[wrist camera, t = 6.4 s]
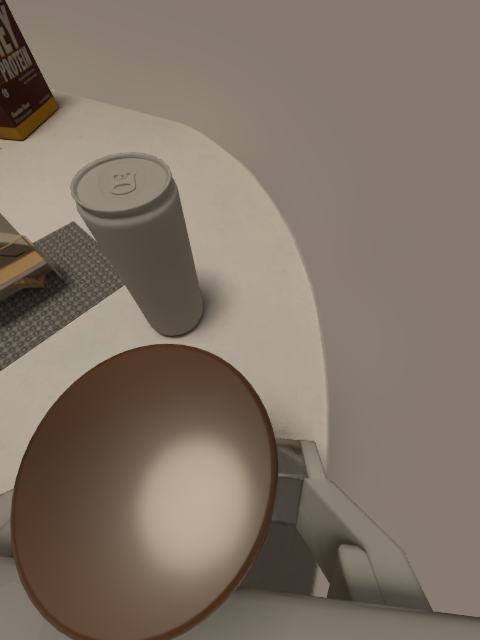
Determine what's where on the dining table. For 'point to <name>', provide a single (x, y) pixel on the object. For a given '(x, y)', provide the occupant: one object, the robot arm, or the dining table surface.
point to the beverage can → (142, 235)
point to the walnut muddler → (144, 495)
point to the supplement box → (20, 83)
